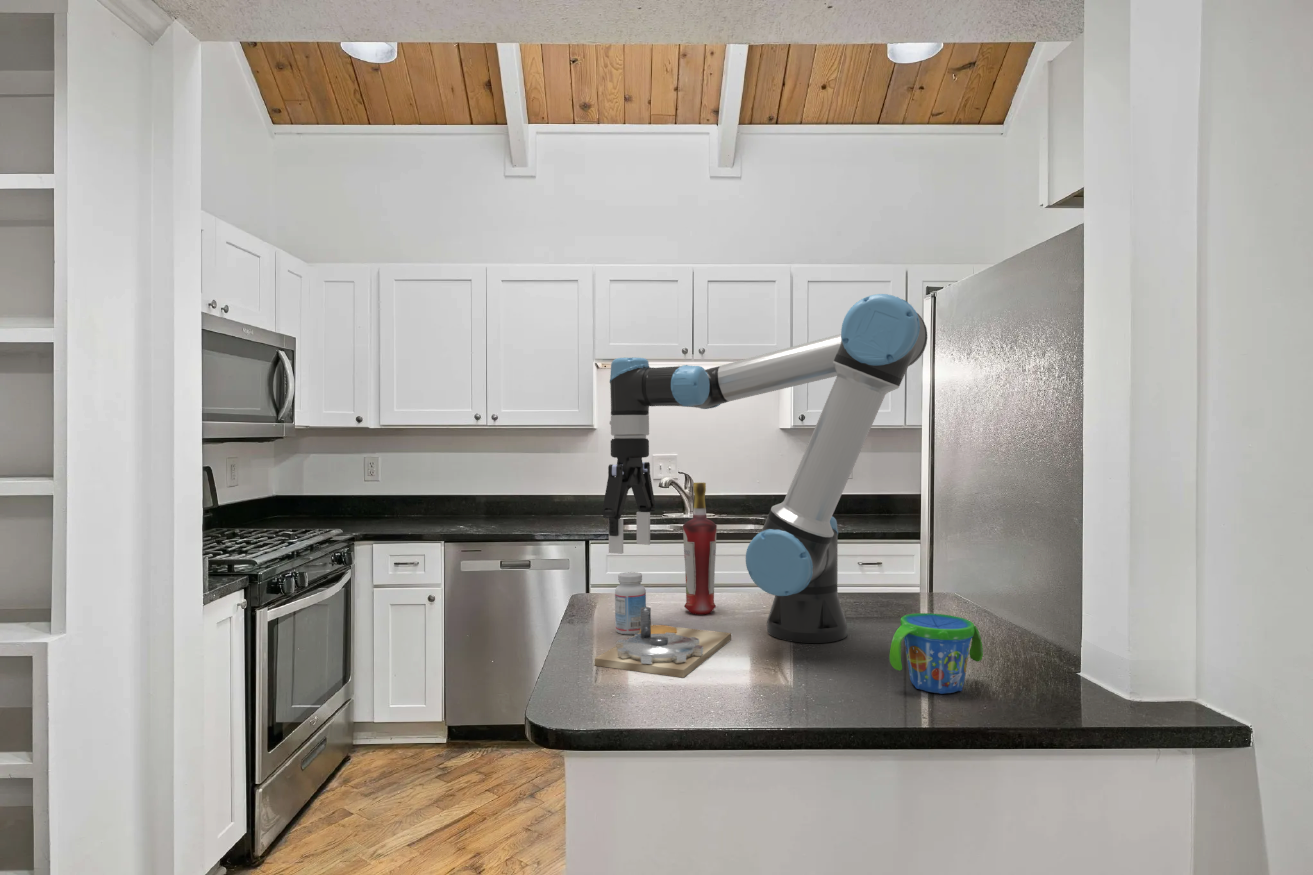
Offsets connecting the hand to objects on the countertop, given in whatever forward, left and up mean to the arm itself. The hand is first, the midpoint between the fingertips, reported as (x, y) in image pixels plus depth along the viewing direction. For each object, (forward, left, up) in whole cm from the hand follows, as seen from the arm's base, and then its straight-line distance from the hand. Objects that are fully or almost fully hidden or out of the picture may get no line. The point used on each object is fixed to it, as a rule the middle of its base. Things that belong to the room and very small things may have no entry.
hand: (630, 548), depth 147 cm
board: (-12, +10, -16) cm, 22 cm away
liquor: (-7, -20, -16) cm, 27 cm away
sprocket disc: (-12, +14, -15) cm, 24 cm away
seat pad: (-7, +2, -15) cm, 17 cm away
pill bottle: (0, 0, -16) cm, 16 cm away
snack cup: (-57, +11, -16) cm, 60 cm away
